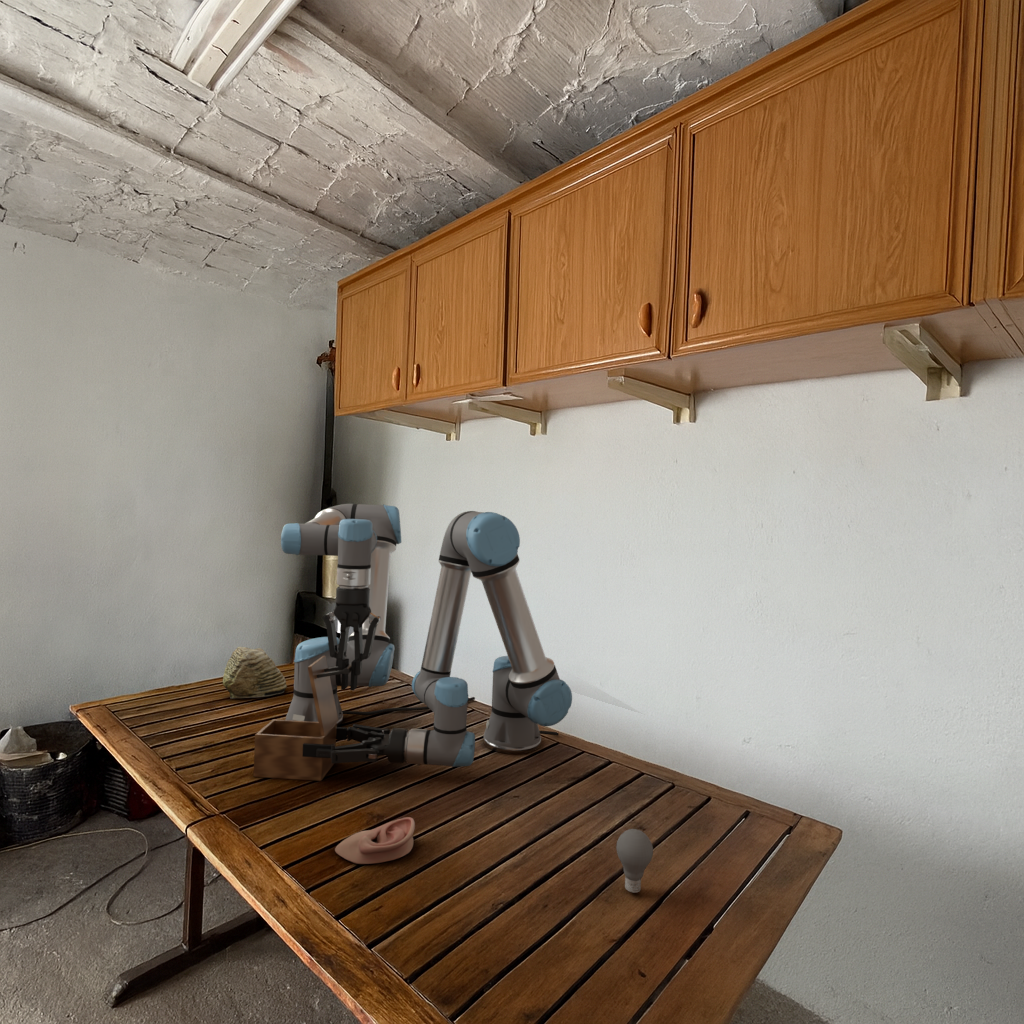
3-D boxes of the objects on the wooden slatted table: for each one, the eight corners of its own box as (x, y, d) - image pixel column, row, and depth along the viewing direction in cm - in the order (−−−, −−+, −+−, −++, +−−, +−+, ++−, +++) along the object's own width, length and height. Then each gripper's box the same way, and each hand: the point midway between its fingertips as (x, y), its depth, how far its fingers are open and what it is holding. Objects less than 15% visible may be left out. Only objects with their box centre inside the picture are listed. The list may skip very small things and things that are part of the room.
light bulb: (610, 879, 108) (613, 822, 108) (644, 879, 109) (647, 822, 109) (619, 902, 102) (622, 840, 102) (655, 901, 103) (658, 840, 103)
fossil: (218, 695, 195) (220, 647, 195) (278, 685, 208) (279, 640, 207) (228, 703, 189) (230, 653, 188) (289, 692, 201) (290, 645, 201)
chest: (253, 776, 142) (255, 734, 142) (271, 758, 152) (273, 719, 151) (321, 780, 141) (322, 738, 141) (335, 762, 151) (336, 722, 151)
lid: (307, 666, 141) (343, 660, 141) (322, 655, 151) (356, 649, 150) (321, 736, 141) (357, 730, 141) (335, 721, 151) (369, 714, 151)
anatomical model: (327, 836, 111) (356, 806, 122) (326, 858, 111) (355, 826, 122) (398, 848, 108) (421, 815, 119) (397, 871, 108) (420, 836, 119)
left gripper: (316, 586, 142) (312, 691, 142) (380, 590, 141) (375, 695, 142) (327, 582, 149) (323, 682, 150) (388, 585, 149) (384, 685, 149)
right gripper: (396, 784, 134) (292, 778, 135) (415, 743, 157) (326, 738, 158) (397, 749, 134) (293, 743, 135) (416, 713, 157) (327, 708, 157)
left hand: (349, 688), depth 146 cm, fingers closed on lid, 1 cm apart
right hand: (311, 740), depth 146 cm, fingers closed on chest, 10 cm apart
